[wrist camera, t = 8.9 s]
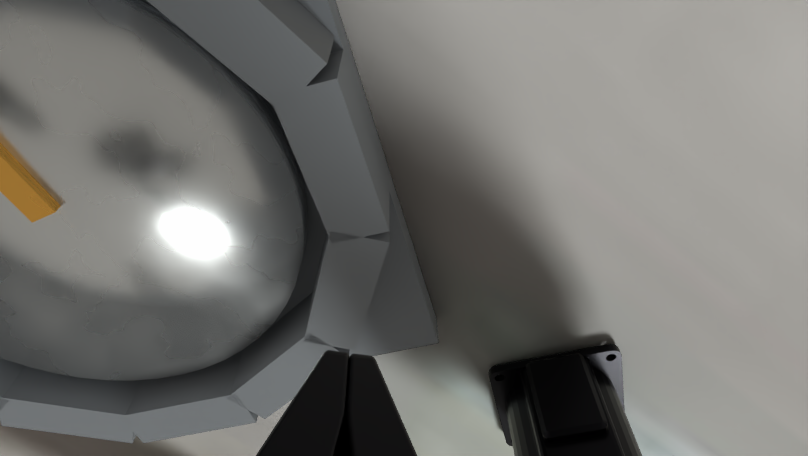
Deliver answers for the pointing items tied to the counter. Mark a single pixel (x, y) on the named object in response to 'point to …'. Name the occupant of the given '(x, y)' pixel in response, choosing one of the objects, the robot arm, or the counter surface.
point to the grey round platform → (323, 254)
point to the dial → (136, 196)
